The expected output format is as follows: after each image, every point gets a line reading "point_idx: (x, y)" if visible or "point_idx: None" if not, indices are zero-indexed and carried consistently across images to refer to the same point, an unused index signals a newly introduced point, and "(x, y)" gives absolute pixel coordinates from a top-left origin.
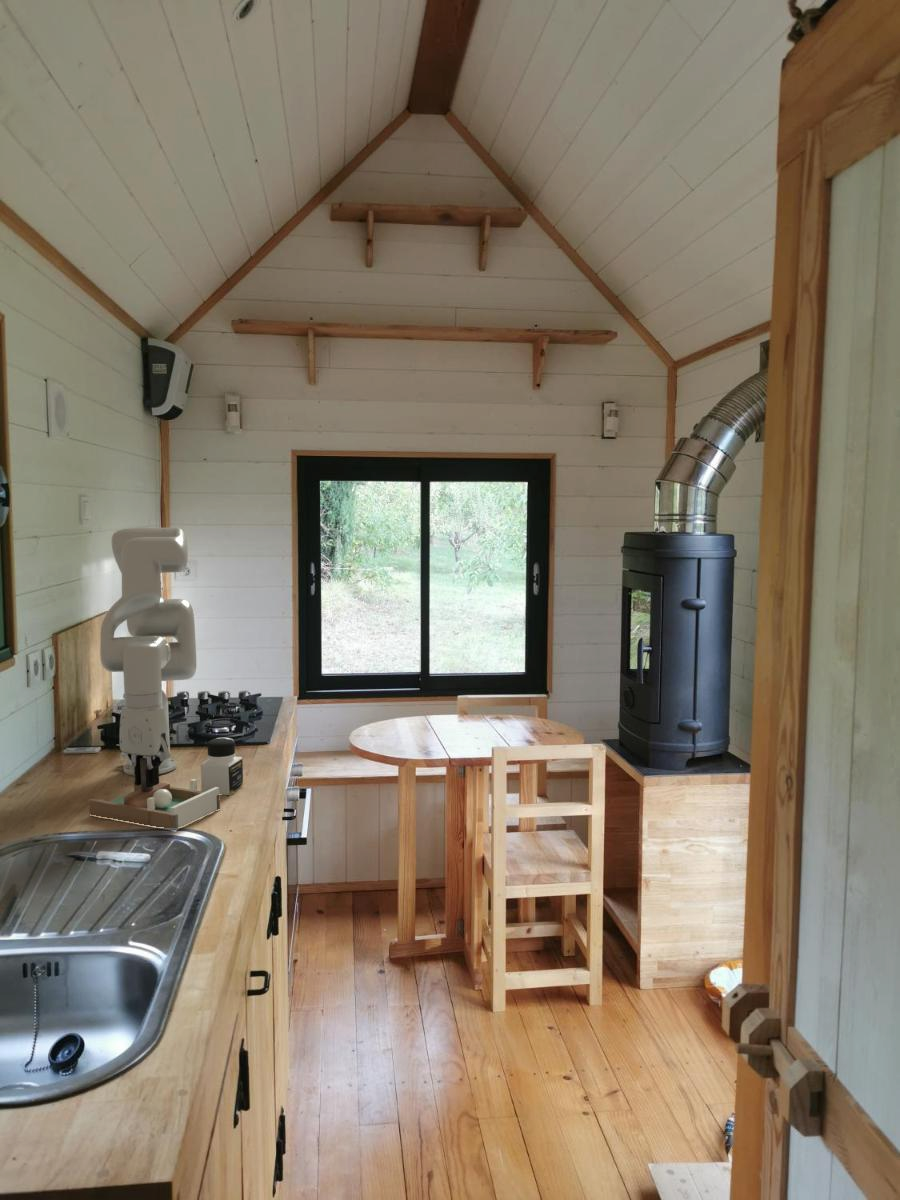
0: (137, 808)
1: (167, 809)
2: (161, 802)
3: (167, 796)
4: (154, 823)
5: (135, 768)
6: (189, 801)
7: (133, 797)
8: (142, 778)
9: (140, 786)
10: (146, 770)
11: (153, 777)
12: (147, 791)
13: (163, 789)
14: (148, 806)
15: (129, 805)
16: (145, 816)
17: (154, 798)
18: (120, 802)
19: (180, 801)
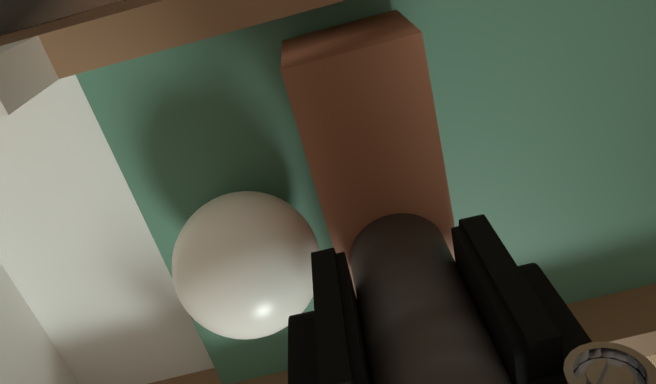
0: (162, 9)
1: None
2: (185, 223)
3: (175, 287)
4: (15, 34)
5: (533, 331)
6: None
7: (320, 79)
8: (416, 289)
9: (652, 313)
10: (335, 372)
11: (290, 353)
12: (356, 236)
13: (231, 318)
14: (5, 48)
15: (297, 8)
16: (83, 18)
17: (232, 212)
18: (597, 105)
19: (267, 342)
